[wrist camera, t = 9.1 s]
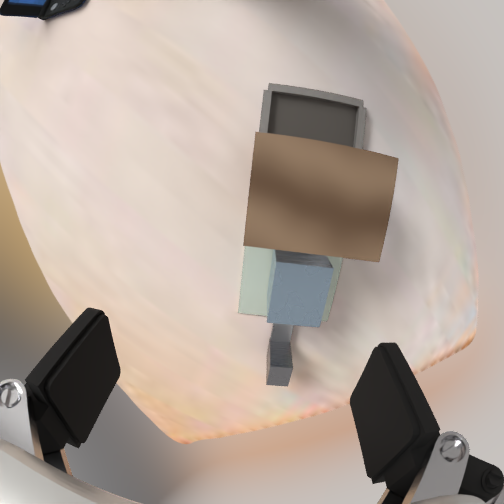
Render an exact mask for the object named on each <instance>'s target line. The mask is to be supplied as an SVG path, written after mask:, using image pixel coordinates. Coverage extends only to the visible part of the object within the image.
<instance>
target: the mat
mask: <svg viewBox="0 0 504 504" xmlns="http://www.w3.org/2000/svg"><path fill="white" fill-rule="evenodd" d="M272 255H273V249H266V248H258V247H249V246H245V251H244V260H243V270H242V280H241V289H240V299H239V309H238V313H244V314H253V315H262V316H267V290H268V283H269V276H270V269H271V262H272ZM327 258H328V259H329V261H330V263H331V264H332V266H333V268H334V270H333V275H332V279H331V283H330V288H329V292H328V296H327V300H326V304H325V308H324V312H323V316H322V320H321V321H328V317H329V313H330V309H331V306H332V302H333V298H334V294H335V290H336V286H337V282H338V278H339V273H340V269H341V265H342V260H343V258H341V257H333V256H327Z"/></svg>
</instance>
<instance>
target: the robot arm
mask: <svg viewBox="0 0 504 504" xmlns="http://www.w3.org/2000/svg"><path fill="white" fill-rule="evenodd" d="M119 376H120V366H119V362H118V358H117V354H116V350H115V346H114V342H113V338H112V333H111V329H110V324H109V319H108V317H107V316H106V315H105V313H104V312H103V311H102V310H98V309H94V308H87V309H86V310H85V311H84V312H83V313H82V314H81V315H80V316H79V317H78V318H77V319H76V321H75V322H74V323H73V324H72V325H71V326H70V327H69V328H68V329H67V330H66V332H65V333H64V334H63V335H62V336H61V337H60V338H59V340H58V341H57V342H56V343H55V344H54V345H53V346H52V348H51V349H50V350H49V351H48V352H47V353H46V355H45V356H44V357H43V358H42V359H41V361H40V362H39V363H38V364H37V366H36V367H35V368H34V369H33V370H32V372H31V373H30V374H29V375H28V377H27V378H26V379H25V381H26V382H27V383H26V384H25V385H23V383H21V382H20V381H18V380H16V379H7V380H4V381H2V382H0V504H141V503H138V502H135V501H132V500H129V499H126V498H123V497H120V496H117V495H115V494H112V493H109V492H107V491H104V490H102V489H99V488H97V487H95V486H92V485H90V484H88V483H86V482H84V481H81V480H79V479H77V478H75V477H73V475H72V472H71V469H70V467H69V463H68V461H67V457H66V454H65V450H64V446H65V444H66V443H68V444H70V445H72V446H75V447H77V448H79V447H80V445H81V443H84V442H85V441H86V440H87V438H88V436H89V434H90V432H91V430H92V428H93V426H94V424H95V422H96V420H97V418H98V416H99V414H100V412H101V410H102V408H103V407H104V405H105V403H106V401H107V399H108V397H109V395H110V393H111V391H112V390H113V388H114V386H115V384H116V382H117V380H118V379H119ZM350 406H351V409H352V413H353V417H354V421H355V425H356V429H357V433H358V438H359V442H360V446H361V450H362V455H363V458H364V464H365V468H366V473H367V476H368V477H369V478H371V479H372V483H373V484H375V483H380V482H384V481H385V482H386V486H387V488H386V490H385V492H384V493H383V495H382V497H381V498H380V500H379V501H378V503H377V504H504V477H503V474H502V471H501V470H500V469H499V468H498V467H496V466H494V465H492V464H489V463H487V462H485V461H483V460H480V459H478V458H476V457H474V456H471V455H469V450H470V449H469V444H468V442H467V441H466V439H465V438H464V437H463V436H462V435H461V434H459V433H457V432H453V431H450V432H445V433H443V434H441V435H440V433H439V430H440V428H439V426H438V423H437V421H436V419H435V417H434V415H433V413H432V411H431V408H430V406H429V404H428V402H427V400H426V398H425V396H424V394H423V392H422V390H421V388H420V386H419V384H418V382H417V380H416V378H415V376H414V374H413V372H412V371H411V369H410V367H409V365H408V363H407V361H406V359H405V358H404V356H403V354H402V352H401V350H400V348H399V347H398V345H397V344H396V343H380V344H379V345H378V347H375V348H374V349H373V351H372V354H371V356H370V358H369V360H368V362H367V365H366V367H365V369H364V371H363V373H362V375H361V377H360V379H359V381H358V383H357V385H356V387H355V389H354V391H353V393H352V395H351V398H350Z"/></svg>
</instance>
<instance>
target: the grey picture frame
mask: <svg viewBox="0 0 504 504" xmlns="http://www.w3.org/2000/svg"><path fill="white" fill-rule="evenodd" d="M365 120H366V108H363V100H360V99H356V98H352V97H347V96H343V95H339V94H334V93H329V92H324V91H319V90H313V89H307V88H301V87H295V86H288V85H280V84H272V83H269V86H268V90H264V94H263V102H262V111H261V120H260V128H259V132H261V133H270V134H278V135H286V136H293V137H300V138H306V139H312V140H318V141H324V142H329V143H335V144H340V145H345V146H349V147H354V148H359V149H363V140H364V130H365Z"/></svg>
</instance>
